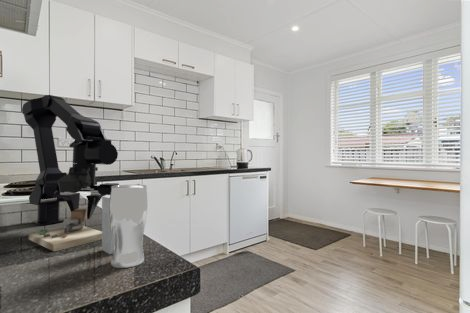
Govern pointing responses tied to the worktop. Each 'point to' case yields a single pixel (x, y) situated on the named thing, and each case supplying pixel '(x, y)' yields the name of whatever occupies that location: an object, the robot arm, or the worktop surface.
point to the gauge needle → (76, 220)
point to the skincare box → (106, 227)
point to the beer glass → (128, 224)
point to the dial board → (64, 237)
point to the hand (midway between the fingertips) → (82, 218)
